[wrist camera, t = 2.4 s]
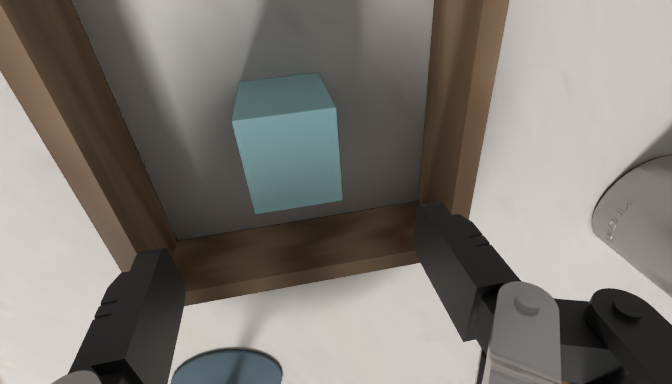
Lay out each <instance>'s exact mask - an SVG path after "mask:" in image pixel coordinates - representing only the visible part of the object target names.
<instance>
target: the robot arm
mask: <svg viewBox="0 0 672 384" xmlns="http://www.w3.org/2000/svg"><path fill="white" fill-rule="evenodd" d="M592 229H593V232H594V233H595V235H596V236H597V237H598V238H599V239H601V240H602V241H603V242H604V243H605V244H607V245H608V246H609V247H610V248H612V249H613V250H614V251H615V252H616V253H618V254H619V255H620V256H621V257H623V258H624V259H625V260H626V261H627V262H629V263H630V264H631V265H632V266H633V267H635V268H636V269H637V270H638V271H639V272H641V273H642V274H643V275H644V276H646V277H647V278H648V279H649V280H651V281H652V282H653V283H654V284H655V285H657V286H658V287H659V288H660V289H662V290H663V291H664V292H665V293H666V294H668V295H669V296H670V297H671V298H672V156H666V157H660V158H657V159H654V160H651V161H649V162H646V163H644V164H642V165H640V166H638V167H637V168H635V169H633V170H632V171H630V172H629V173H627V174H626V175H625V176H623V177H622V178H621V179H620V180H618V181H617V182H616V183H615V184H614V185H613V186H612V187H611V188H610V189H609V190H608V191H607V192H606V194H605V195H604V196H603V198H602V199H601V200H600V202H599V204H598V205H597V207H596V209H595V211H594V214H593V218H592ZM414 247H415V251H416V254H417V257H418V259H419V261H420V263H421V264H422V266H423V268H424V270H425V272H426V274H427V276H428V277H429V279H430V281H431V283H432V285H433V287H434V288H435V290H436V292H437V294H438V296H439V298H440V300H441V301H442V303H443V305H444V307H445V309H446V311H447V312H448V314H449V316H450V318H451V320H452V322H453V324H454V325H455V327H456V329H457V331H458V333H459V335H460V337H461V338H462V340H463V342H466V341H470V340H475V339H476V340H477V341H478V343H479V345H480V347H481V351H480V355H479V361H478V367H477V373H476V379H475V384H562V381H565V382H568V383H569V384H672V325H671V324H670V323H669V322H668V321H667V320H666V319H665V318H664V317H663V316H661V315H660V314H659V313H658V312H657V311H656V310H655V309H654V308H653V307H652V306H651V305H649V304H648V303H647V302H646V301H644V300H643V299H641V298H639V297H637V296H635V295H633V294H631V293H629V292H626V291H622V290H618V289H610V288H608V289H601V290H598V291H596V292H595V293H594V294H593V296H592V298H591V300H590V302H587V301H575V300H563V299H554V298H552V296H550V295H549V294H548V293H547V292H546V291H544V290H543V289H541V288H540V287H538V286H535V285H533V284H530V283H526V282H522V281H521V280H520V279H519V278H518V277H517V276H516V274H515V273H514V272H513V271H512V270H511V268H510V267H509V266H508V265H507V264H506V262H505V261H504V260H503V259H502V257H501V256H500V255H499V254H498V253H497V251H496V250H495V249H494V248H493V247H492V245H490V244H489V242H488V240H487V239H486V238H485V237H484V236H482V233H481V232H480V231H479V230H478V228H477V227H476V226H475V225H474V223H473V222H471V221H470V220H468V219H466V218H465V217H463V216H462V215H460V214H455V215H452V214H451V213H450V212H449V210H448V209H447V208H446V206H445V205H444V204H443V203H442V202H434V203H428V204H422V205H418V206H417V209H416V219H415V231H414ZM184 304H185V286H184V282H183V280H182V277H181V275H180V273H179V271H178V269H177V267H176V265H175V262H174V260H173V258H172V256H171V254H170V252H169V250H168V249H167V248H161V249H155V250H149V251H143V252H139V253H138V254H137V255H136V257H135V259H134V262H133V264H132V266H131V269H130V271H128V272H122V273H121V274H120V275H119V276H118V277H117V278H116V279H115V280H114V281H113V282H112V284H111V285H110V286H109V287H108V288H107V290H106V293H105V295H104V297H103V299H102V301H101V306H99V308H98V310H97V312H96V314H95V320H93V321H92V323H91V325H90V327H89V330H88V332H87V334H86V336H85V338H84V340H83V343H82V345H81V347H80V349H79V351H78V353H77V356H76V358H75V360H74V362H73V364H72V366H71V369H70V371H69V373H68V374H67V375H65V376H63V377H61V378H59V379H58V380H56V381H55V382H53V383H52V384H167V383H168V378H169V373H170V369H171V364H172V359H173V355H174V350H175V345H176V341H177V336H178V331H179V327H180V322H181V318H182V313H183V308H184Z"/></svg>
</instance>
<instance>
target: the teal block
mask: <svg viewBox="0 0 672 384" xmlns="http://www.w3.org/2000/svg"><path fill="white" fill-rule="evenodd" d="M232 125H233V129H234V133H235V137H236V141H237V145H238V149H239V153H240V157H241V161H242V165H243V168H244V172H245V176H246V180H247V184H248V188H249V192H250V196H251V200H252V204H253V208H254V212H255V214H261V213H267V212H273V211H280V210H286V209H292V208H298V207H305V206H311V205H317V204H323V203H330V202H336V201H342V200H343V197H342V183H341V169H340V156H339V142H338V128H337V114H336V106H335V104H334V102H333V101H332V99H331V97H330V95H329V93H328V91H327V89H326V87H325V85H324V83H323V81H322V79H321V77H320V75H319V73H318V72H316V73H308V74H299V75H291V76H283V77H274V78H266V79H257V80H249V81H241V82H239V86H238V91H237V96H236V101H235V106H234V111H233V116H232Z"/></svg>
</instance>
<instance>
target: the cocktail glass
mask: <svg viewBox="0 0 672 384" xmlns="http://www.w3.org/2000/svg"><path fill="white" fill-rule="evenodd" d="M281 381H282V373H281V369H280V367H279V366H278V364H277V363H276V362H274V361H273V360H272V359H270V358H269V357H267V356H265V355H262V354H259V353H256V352H251V351H245V350H225V351H217V352H212V353H208V354H205V355H202V356H199V357H197V358H194V359H192V360H190V361H189V362H187V363H186V364H184V365H183V366H182V367H180V368H179V369H178V370H177V371H176V373H175V374H174V376H173V378H172V380H171V384H281Z"/></svg>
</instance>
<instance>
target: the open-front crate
mask: <svg viewBox="0 0 672 384" xmlns="http://www.w3.org/2000/svg"><path fill="white" fill-rule="evenodd" d="M508 5H509V0H434V10H433V23H432V36H431V48H430V61H429V74H428V86H427V99H426V112H425V124H424V137H423V150H422V163H421V175H420V188H419V201H417V202H411V203H405V204H399V205H393V206H387V207H381V208H375V209H369V210H363V211H357V212H351V213H344V214H338V215H332V216H326V217H320V218H314V219H308V220H302V221H296V222H290V223H284V224H278V225H272V226H265V227H259V228H253V229H247V230H241V231H235V232H229V233H223V234H217V235H211V236H205V237H199V238H192V239H186V240H180V241H177V239H176V237H175V235H174V232H173V230H172V228H171V226H170V223H169V221H168V219H167V217H166V214H165V212H164V210H163V208H162V205H161V203H160V201H159V198H158V196H157V194H156V192H155V189H154V187H153V185H152V183H151V180H150V178H149V176H148V174H147V171H146V169H145V167H144V164H143V162H142V160H141V158H140V155H139V153H138V151H137V149H136V146H135V144H134V142H133V140H132V137H131V135H130V133H129V130H128V128H127V126H126V124H125V121H124V119H123V117H122V115H121V112H120V110H119V108H118V106H117V103H116V101H115V99H114V97H113V94H112V92H111V90H110V87H109V85H108V83H107V81H106V78H105V76H104V74H103V72H102V69H101V67H100V65H99V63H98V60H97V58H96V56H95V53H94V51H93V49H92V47H91V44H90V42H89V40H88V38H87V35H86V33H85V31H84V29H83V26H82V24H81V22H80V20H79V17H78V15H77V13H76V10H75V8H74V6H73V4H72V1H71V0H0V71H1V73H2V74H3V76H4V78H5V79H6V81H7V83H8V84H9V86H10V88H11V89H12V91H13V92H14V94H15V96H16V97H17V99H18V101H19V102H20V104H21V106H22V107H23V109H24V111H25V112H26V114H27V116H28V117H29V119H30V121H31V122H32V124H33V126H34V127H35V129H36V131H37V132H38V134H39V136H40V137H41V139H42V141H43V142H44V144H45V146H46V147H47V149H48V150H49V152H50V154H51V155H52V157H53V159H54V160H55V162H56V164H57V165H58V167H59V169H60V170H61V172H62V174H63V175H64V177H65V179H66V180H67V182H68V184H69V185H70V187H71V189H72V190H73V192H74V194H75V195H76V197H77V199H78V200H79V202H80V203H81V205H82V207H83V208H84V210H85V212H86V213H87V215H88V217H89V218H90V220H91V222H92V223H93V225H94V227H95V228H96V230H97V232H98V233H99V235H100V237H101V238H102V240H103V242H104V243H105V245H106V247H107V248H108V250H109V252H110V253H111V255H112V257H113V258H114V260H115V261H116V263H117V265H118V266H119V268H120V270H121V271H122V272H128V271H130V269H131V266H132V264H133V262H134V259H135V257H136V255H137V254H138V253H139V252H143V251H149V250H155V249H161V248H167V249H168V250H169V252H170V254H171V256H172V258H173V260H174V262H175V265H176V267H177V269H178V271H179V273H180V275H181V277H182V280H183V282H184V286H185V304H184V306H187V305H193V304H198V303H204V302H209V301H214V300H220V299H225V298H231V297H236V296H242V295H247V294H253V293H258V292H263V291H269V290H274V289H280V288H285V287H291V286H296V285H301V284H307V283H312V282H318V281H323V280H329V279H334V278H339V277H345V276H350V275H356V274H361V273H367V272H372V271H378V270H383V269H388V268H394V267H399V266H405V265H410V264H416V263H420V261H419V259H418V257H417V254H416V251H415V247H414V231H415V219H416V209H417V206H418V205H422V204H428V203H434V202H442V203H443V204H444V205H445V206H446V208H447V209H448V210H449V212H450V213H451V214H452V215H455V214H460V215H462V216H463V217H465V218H466V219H469V214H470V209H471V203H472V198H473V192H474V187H475V182H476V176H477V171H478V166H479V160H480V155H481V150H482V144H483V139H484V133H485V128H486V123H487V117H488V112H489V107H490V101H491V96H492V90H493V85H494V80H495V74H496V69H497V64H498V58H499V53H500V48H501V42H502V37H503V31H504V26H505V21H506V15H507V10H508Z"/></svg>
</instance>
